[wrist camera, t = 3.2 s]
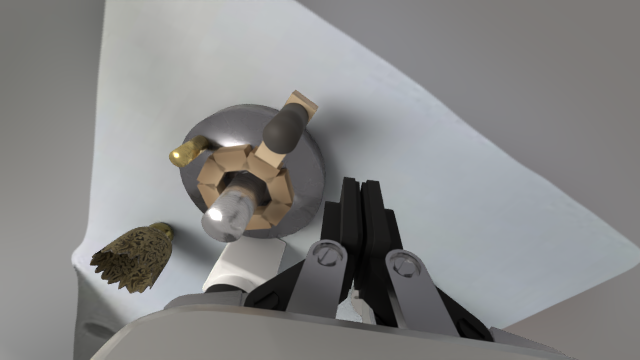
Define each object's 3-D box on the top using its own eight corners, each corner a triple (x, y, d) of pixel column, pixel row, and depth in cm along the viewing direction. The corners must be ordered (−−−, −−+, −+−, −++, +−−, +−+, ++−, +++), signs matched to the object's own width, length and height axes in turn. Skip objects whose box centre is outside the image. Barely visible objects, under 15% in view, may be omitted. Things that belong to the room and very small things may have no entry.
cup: (164, 253, 39) (125, 299, 32) (129, 219, 36) (77, 262, 29) (198, 240, 37) (164, 287, 30) (163, 203, 34) (115, 245, 27)
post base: (345, 203, 30) (344, 268, 22) (242, 235, 35) (207, 299, 27) (284, 77, 24) (246, 100, 15) (166, 138, 28) (87, 181, 20)
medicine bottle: (225, 248, 37) (176, 330, 27) (242, 219, 34) (194, 299, 23) (266, 269, 38) (236, 353, 28) (287, 242, 35) (261, 327, 25)
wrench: (266, 232, 30) (247, 278, 24) (194, 191, 28) (155, 231, 22) (350, 129, 22) (350, 161, 17) (259, 63, 20) (224, 73, 15)
